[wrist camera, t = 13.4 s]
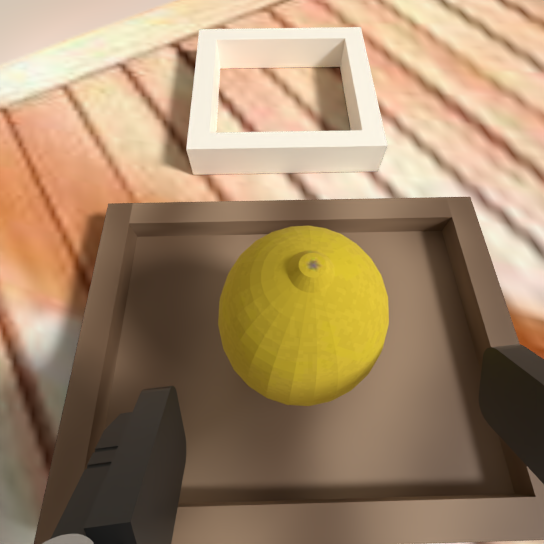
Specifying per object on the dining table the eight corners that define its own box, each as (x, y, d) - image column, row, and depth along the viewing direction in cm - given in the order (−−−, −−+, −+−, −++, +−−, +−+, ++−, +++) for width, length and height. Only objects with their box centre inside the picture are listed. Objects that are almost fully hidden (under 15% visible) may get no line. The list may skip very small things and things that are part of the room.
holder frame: (193, 174, 22) (186, 149, 20) (204, 58, 26) (199, 29, 25) (377, 171, 22) (387, 145, 20) (354, 56, 27) (360, 27, 25)
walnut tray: (62, 542, 14) (30, 555, 12) (123, 226, 20) (108, 203, 18) (544, 528, 14) (584, 538, 12) (452, 219, 20) (470, 196, 18)
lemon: (228, 418, 15) (188, 382, 8) (233, 291, 17) (207, 175, 10) (365, 416, 15) (454, 379, 8) (350, 291, 17) (407, 174, 10)
